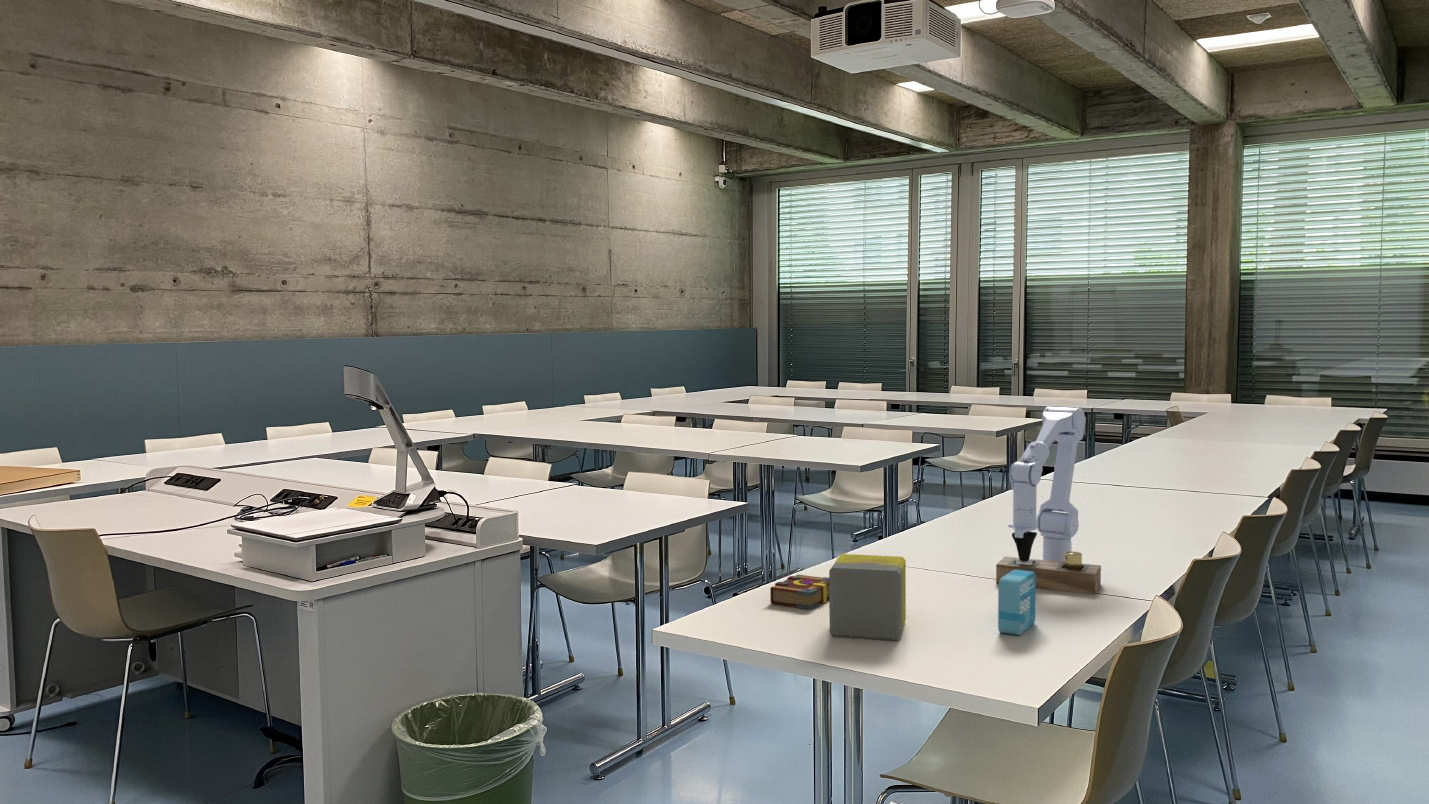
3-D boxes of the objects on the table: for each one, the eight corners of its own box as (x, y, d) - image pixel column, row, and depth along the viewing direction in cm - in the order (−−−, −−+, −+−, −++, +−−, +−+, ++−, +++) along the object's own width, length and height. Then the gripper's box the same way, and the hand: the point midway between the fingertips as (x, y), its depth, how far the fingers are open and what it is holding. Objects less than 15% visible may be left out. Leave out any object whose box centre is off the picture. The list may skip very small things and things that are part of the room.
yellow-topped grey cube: (909, 610, 236) (909, 547, 235) (899, 641, 213) (899, 571, 212) (845, 606, 240) (845, 544, 239) (829, 637, 217) (828, 568, 216)
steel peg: (1017, 574, 264) (1017, 557, 263) (1034, 576, 262) (1034, 559, 261) (1014, 578, 260) (1014, 561, 260) (1030, 580, 258) (1030, 562, 258)
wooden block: (1004, 574, 268) (1005, 556, 268) (1100, 584, 257) (1100, 565, 256) (996, 583, 259) (996, 564, 259) (1094, 594, 248) (1095, 573, 248)
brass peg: (1065, 568, 258) (1065, 550, 257) (1082, 569, 256) (1083, 552, 255) (1062, 571, 254) (1062, 554, 254) (1080, 573, 252) (1080, 555, 252)
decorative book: (769, 605, 243) (768, 584, 243) (798, 589, 257) (798, 570, 257) (811, 611, 237) (811, 590, 237) (839, 595, 251) (839, 575, 251)
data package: (1018, 637, 215) (1019, 582, 214) (997, 634, 217) (998, 579, 216) (1035, 623, 224) (1036, 570, 224) (1015, 620, 227) (1015, 567, 226)
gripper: (1014, 502, 268) (1014, 553, 269) (1002, 511, 255) (1002, 564, 256) (1042, 504, 264) (1041, 555, 265) (1031, 513, 252) (1030, 567, 253)
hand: (1024, 560), depth 260 cm, fingers closed, pressing on steel peg
